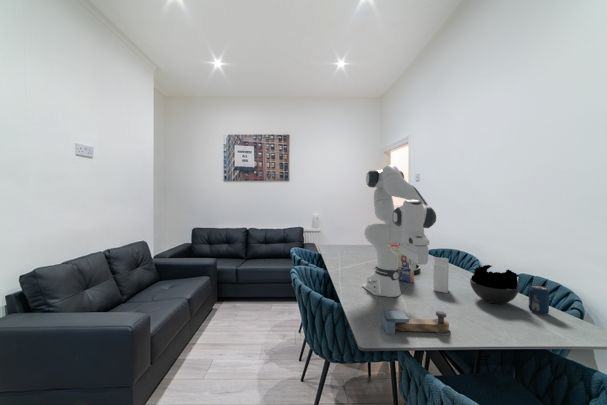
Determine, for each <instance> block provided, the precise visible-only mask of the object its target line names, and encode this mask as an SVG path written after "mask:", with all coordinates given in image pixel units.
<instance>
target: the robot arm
mask: <svg viewBox="0 0 607 405" xmlns="http://www.w3.org/2000/svg"><path fill="white" fill-rule="evenodd" d="M365 183H366V185H367V187H369V188H375V189H374V192H373V193H374V194H373V206H374V214H375V217H376V218H377V219H378V220H379V221H381V222H383V223H374V224H368V225H367V226H366V228H365V229H364V237H365V239H366V240H367V242H369V243H370V244H371V245H372V246H373V248H374V249H375V251H376V258H377V266H375V267H374V268H373V269H374V270H375V271H374V272H372V273H371V274H370V275H369V276H367V278H366V282H364V283H363V284H362V285H361V286H362V287H363V289H366V290H367V291H368V292H369V293H371V294H373V295H374V296H378V297H379V296H382V297H389V298H395V297H399V296H401V294H402V292H401V288H400V280H399V279H398V276H399V268H398V255H397V253H396V252H395V251H393V250H391V249H389V248H388V246H387V244H388V243H400V253H401V254H403V255H404V256H406V257H408V263H409V268H410V269H412V270H414V271H416V269H417V265H420V266H421V265H427V264H428V262H429V253H430V252H429V246H430V239H429V238H428V237H427V236H426V234H425V229H430V228H432V226H434V224H435V223H436V222H437V213H436V211H435V210H434V209H433V207H431V206H430V205H429V204H428V203H427V201H426V200H425V199H424V197H423V196H422V195H421V193H420V191H418V189H417V188H416V186H413V185H412V184H410V183H409V182H408V181H406V180H405V174H404V173H403V171H401V170H400V169H399V168H398V167H397V166H396V165H393V164H390V165H389V164H388V165H386V166H384V167H383V168H382V169H372V170H369V171H368V172H367V173H366V176H365ZM393 197H395V198H400V199H405V200H404V201H403V204H402V205H400V206H397V207H396V208H395V204H394V200H393Z"/></svg>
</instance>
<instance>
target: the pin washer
mask: <svg viewBox="0 0 607 405" xmlns="http://www.w3.org/2000/svg"><path fill="white" fill-rule="evenodd" d="M451 332H452V331H451V330H450V329H449V332H448V333H440V332H434V333H435V334H437V335H440V336H450V335H451Z"/></svg>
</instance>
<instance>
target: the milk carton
mask: <svg viewBox="0 0 607 405" xmlns="http://www.w3.org/2000/svg"><path fill="white" fill-rule="evenodd" d="M433 291H434V292H439V293H444V294H448V292H449V258H447V257H438V256H437V257H436V256H434V258H433Z"/></svg>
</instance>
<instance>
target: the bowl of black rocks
mask: <svg viewBox="0 0 607 405" xmlns="http://www.w3.org/2000/svg"><path fill="white" fill-rule="evenodd" d="M491 267H493V265H490V264H485V265H482V266H479V267H476V268H475V269H474V273H473V274H472V275H471V278H470V279H469V283H470V286H471V288H472V291H473V292H474V293H475V295H477V297H479V298H480V299H482V300H483V301H485V302H488V303H491V304H496V305H501V304H507V303H509V302H511V301H513V300H514V299H515V298H516V297H517V295H518V294H519V291H520V290H519V289H520V286H518V284H519V283H518V279H517V273H516V272H514V271H512V270H510V269H506V270H505V271H504V272H503V273H502V272H499V271H495V272H493V271H491V270H490V271H488V270H489V269H490V268H491Z"/></svg>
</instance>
